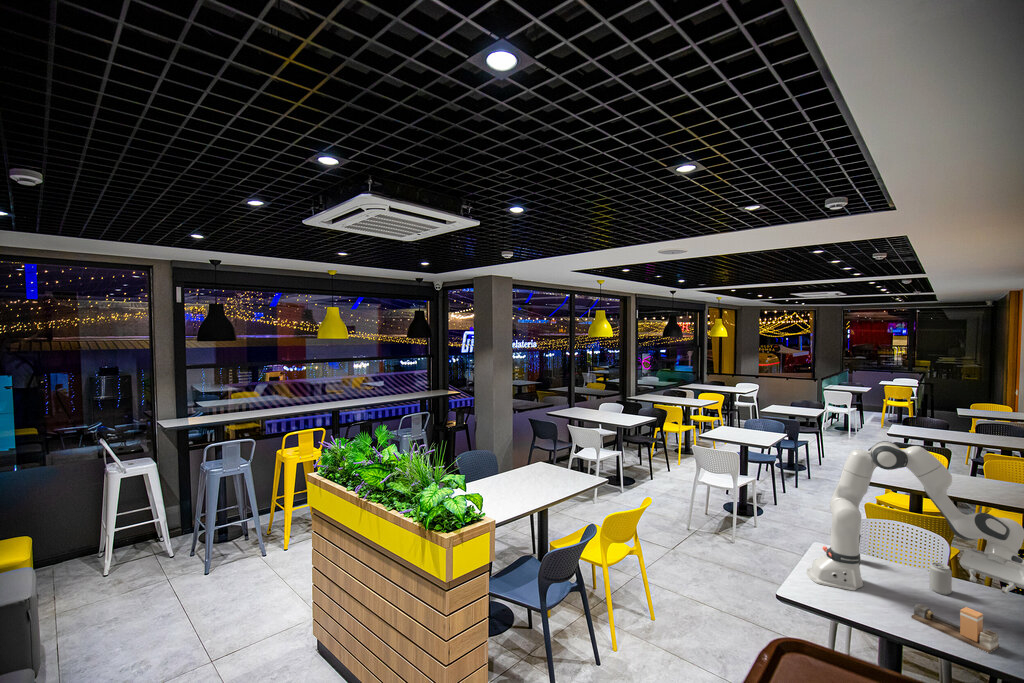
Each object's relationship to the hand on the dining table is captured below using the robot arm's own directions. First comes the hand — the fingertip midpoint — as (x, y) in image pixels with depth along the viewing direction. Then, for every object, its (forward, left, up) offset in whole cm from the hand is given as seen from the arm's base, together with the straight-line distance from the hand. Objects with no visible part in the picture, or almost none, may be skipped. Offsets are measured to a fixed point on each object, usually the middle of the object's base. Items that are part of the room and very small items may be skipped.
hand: (988, 586), depth 185 cm
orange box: (-10, -8, -16) cm, 21 cm away
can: (0, +30, -18) cm, 35 cm away
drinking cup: (-26, +54, -18) cm, 63 cm away
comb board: (-13, -4, -18) cm, 22 cm away
